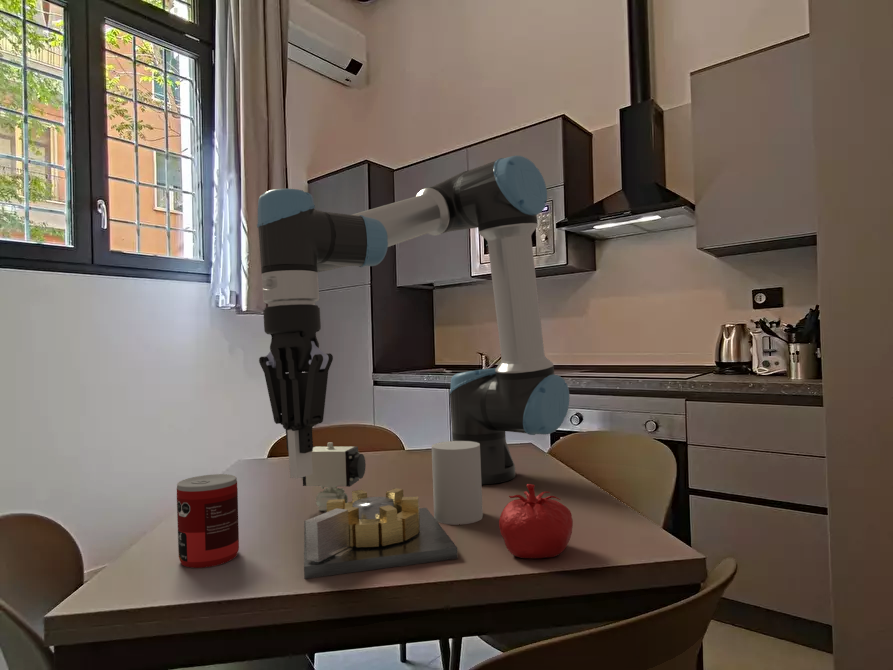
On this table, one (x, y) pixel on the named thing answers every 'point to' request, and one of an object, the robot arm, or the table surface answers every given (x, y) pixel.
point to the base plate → (386, 546)
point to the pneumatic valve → (334, 472)
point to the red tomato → (535, 525)
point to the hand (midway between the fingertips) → (301, 475)
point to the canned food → (207, 520)
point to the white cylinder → (457, 482)
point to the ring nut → (361, 525)
